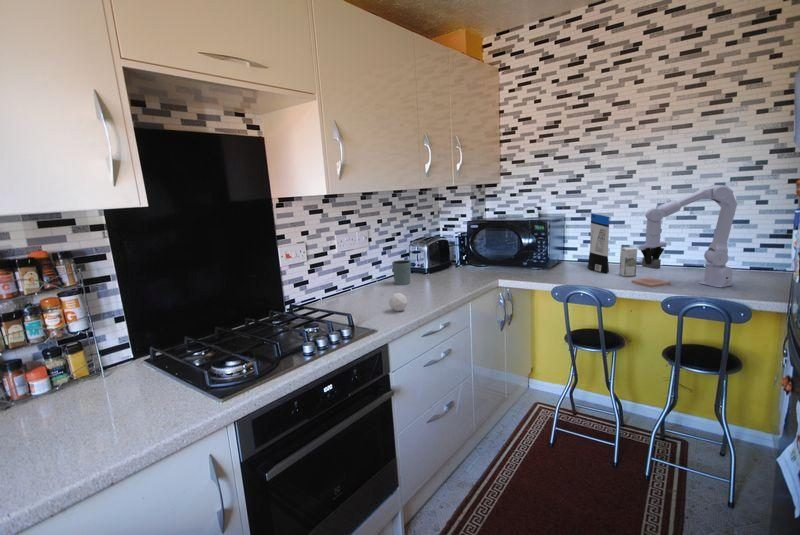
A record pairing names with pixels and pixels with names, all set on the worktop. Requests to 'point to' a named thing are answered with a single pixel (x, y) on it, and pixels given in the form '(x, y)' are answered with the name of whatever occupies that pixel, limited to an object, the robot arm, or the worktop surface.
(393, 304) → the ball
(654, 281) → the terracotta trivet
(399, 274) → the green cup
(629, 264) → the syrup box
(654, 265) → the charger plug
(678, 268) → the worktop surface
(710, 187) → the robot arm
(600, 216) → the protein powder
